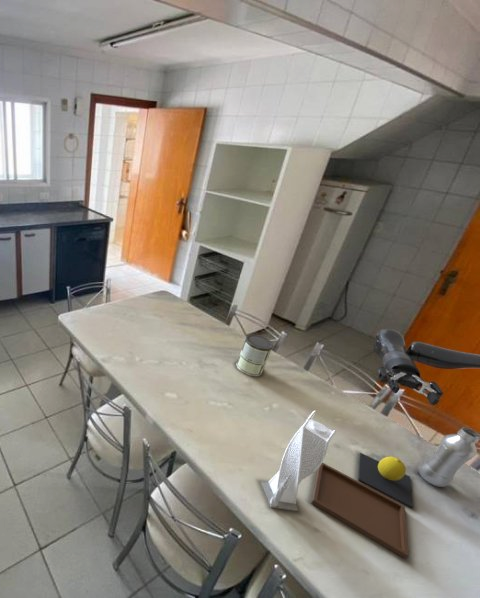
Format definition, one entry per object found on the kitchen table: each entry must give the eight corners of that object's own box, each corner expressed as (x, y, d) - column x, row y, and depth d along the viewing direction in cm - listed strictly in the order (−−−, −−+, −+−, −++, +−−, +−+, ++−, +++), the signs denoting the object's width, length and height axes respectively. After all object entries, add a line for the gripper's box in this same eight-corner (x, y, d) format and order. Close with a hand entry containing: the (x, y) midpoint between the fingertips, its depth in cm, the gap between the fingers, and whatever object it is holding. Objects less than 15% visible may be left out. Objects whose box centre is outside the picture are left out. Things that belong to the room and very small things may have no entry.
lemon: (374, 465, 100) (387, 447, 96) (397, 478, 97) (412, 460, 93) (371, 476, 97) (384, 458, 93) (395, 490, 93) (410, 472, 90)
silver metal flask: (439, 493, 94) (483, 446, 85) (410, 473, 99) (449, 426, 90) (449, 485, 96) (494, 439, 87) (421, 466, 102) (460, 420, 93)
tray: (401, 509, 89) (404, 505, 88) (405, 559, 78) (408, 556, 77) (318, 464, 100) (320, 461, 99) (311, 503, 89) (313, 499, 88)
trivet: (408, 477, 98) (409, 476, 98) (411, 508, 89) (413, 507, 89) (359, 453, 104) (360, 452, 104) (358, 480, 96) (359, 478, 96)
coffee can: (233, 359, 145) (243, 332, 138) (257, 363, 143) (268, 336, 137) (239, 374, 136) (249, 346, 129) (265, 378, 134) (277, 350, 128)
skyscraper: (258, 477, 94) (295, 406, 81) (287, 481, 94) (329, 411, 81) (270, 507, 87) (313, 434, 74) (302, 512, 86) (350, 439, 73)
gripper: (378, 350, 109) (391, 377, 96) (434, 365, 103) (456, 397, 90) (367, 367, 112) (378, 396, 99) (421, 384, 106) (440, 416, 93)
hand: (415, 396), depth 95 cm, fingers open, 8 cm apart
